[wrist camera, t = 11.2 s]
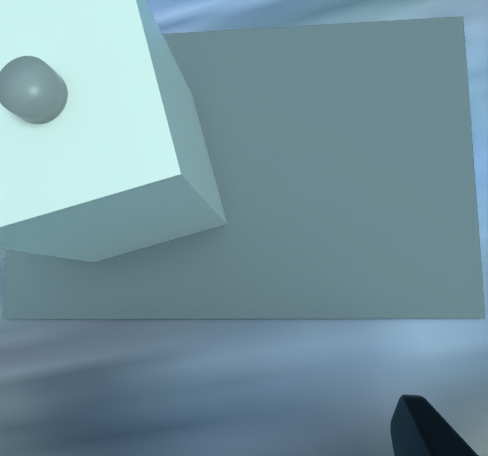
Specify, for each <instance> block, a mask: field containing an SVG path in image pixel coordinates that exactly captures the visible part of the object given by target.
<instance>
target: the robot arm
mask: <svg viewBox="0 0 488 456" xmlns="http://www.w3.org/2000/svg"><path fill="white" fill-rule="evenodd" d="M390 429H391V437H392V444H393V450H394V456H478V455H477V454H476V453H475V452H474V451H473V450H472V448H471V447H470V446H469V445H468V444H467V443H466V442H465V441H464V440H463V439H462V438H461V437H460V436H459V434H458V433H457V432H456V431H455V430H454V429H453V428H452V427H451V426H450V425H449V424H448V423H447V421H446V420H445V419H444V418H443V417H442V416H441V415H440V414H439V413H438V412H437V411H436V410H435V409H434V407H433V406H432V405H431V404H430V403H429V402H428V401H427V400H426V399H425V398H424V397H422V396H419V395H402V396H401V397H400V398H399V401H398V403H397V406H396V409H395V411H394V414H393V417H392V420H391V427H390Z"/></svg>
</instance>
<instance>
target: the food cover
mask: <svg viewBox="0 0 488 456" xmlns="http://www.w3.org/2000/svg"><path fill="white" fill-rule="evenodd" d="M226 224H227V221H226V218H225V214H224V210H223V207H222V203H221V199H220V195H219V192H218V188H217V184H216V181H215V177H214V173H213V170H212V166H211V162H210V158H209V155H208V151H207V147H206V144H205V140H204V136H203V133H202V129H201V125H200V121H199V118H198V114H197V110H196V107H195V103H194V99H193V96H192V93H191V91H190V89H189V87H188V85H187V83H186V81H185V79H184V77H183V75H182V73H181V71H180V69H179V67H178V65H177V63H176V61H175V59H174V57H173V55H172V53H171V51H170V49H169V47H168V45H167V43H166V41H165V39H164V36H163V34H162V32H161V30H160V28H159V26H158V24H157V22H156V20H155V18H154V16H153V14H152V12H151V10H150V8H149V6H148V4H147V2H146V0H0V249H6V250H13V251H20V252H26V253H33V254H40V255H47V256H54V257H61V258H68V259H75V260H82V261H89V262H96V261H100V260H103V259H107V258H110V257H114V256H117V255H121V254H124V253H128V252H131V251H135V250H138V249H142V248H145V247H149V246H152V245H156V244H159V243H163V242H166V241H170V240H173V239H177V238H180V237H184V236H187V235H191V234H194V233H198V232H201V231H205V230H208V229H212V228H215V227H219V226H222V225H226Z"/></svg>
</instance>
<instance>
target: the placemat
mask: <svg viewBox="0 0 488 456" xmlns="http://www.w3.org/2000/svg"><path fill="white" fill-rule="evenodd" d="M163 36H164V39H165V41H166V43H167V45H168V47H169V49H170V51H171V53H172V55H173V57H174V59H175V61H176V63H177V65H178V67H179V69H180V71H181V73H182V75H183V77H184V79H185V81H186V83H187V85H188V87H189V89H190V91H191V93H192V96H193V99H194V103H195V107H196V110H197V114H198V118H199V121H200V125H201V129H202V133H203V136H204V140H205V144H206V147H207V151H208V155H209V158H210V162H211V166H212V170H213V173H214V177H215V181H216V184H217V188H218V192H219V195H220V199H221V203H222V207H223V210H224V214H225V218H226V221H227V224H226V225H222V226H219V227H215V228H212V229H208V230H205V231H201V232H198V233H194V234H191V235H187V236H184V237H180V238H177V239H173V240H170V241H166V242H163V243H159V244H156V245H152V246H149V247H145V248H142V249H138V250H135V251H131V252H128V253H124V254H121V255H117V256H114V257H110V258H107V259H103V260H100V261H96V262H89V261H82V260H75V259H68V258H61V257H54V256H47V255H40V254H33V253H26V252H20V251H13V250H6V264H5V280H4V297H3V313H2V319H485V306H484V292H483V279H482V265H481V252H480V238H479V225H478V211H477V198H476V184H475V171H474V157H473V144H472V130H471V117H470V103H469V90H468V76H467V63H466V49H465V36H464V22H463V17H446V18H429V19H412V20H395V21H378V22H361V23H343V24H326V25H309V26H292V27H275V28H258V29H241V30H224V31H207V32H190V33H173V34H163Z"/></svg>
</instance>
